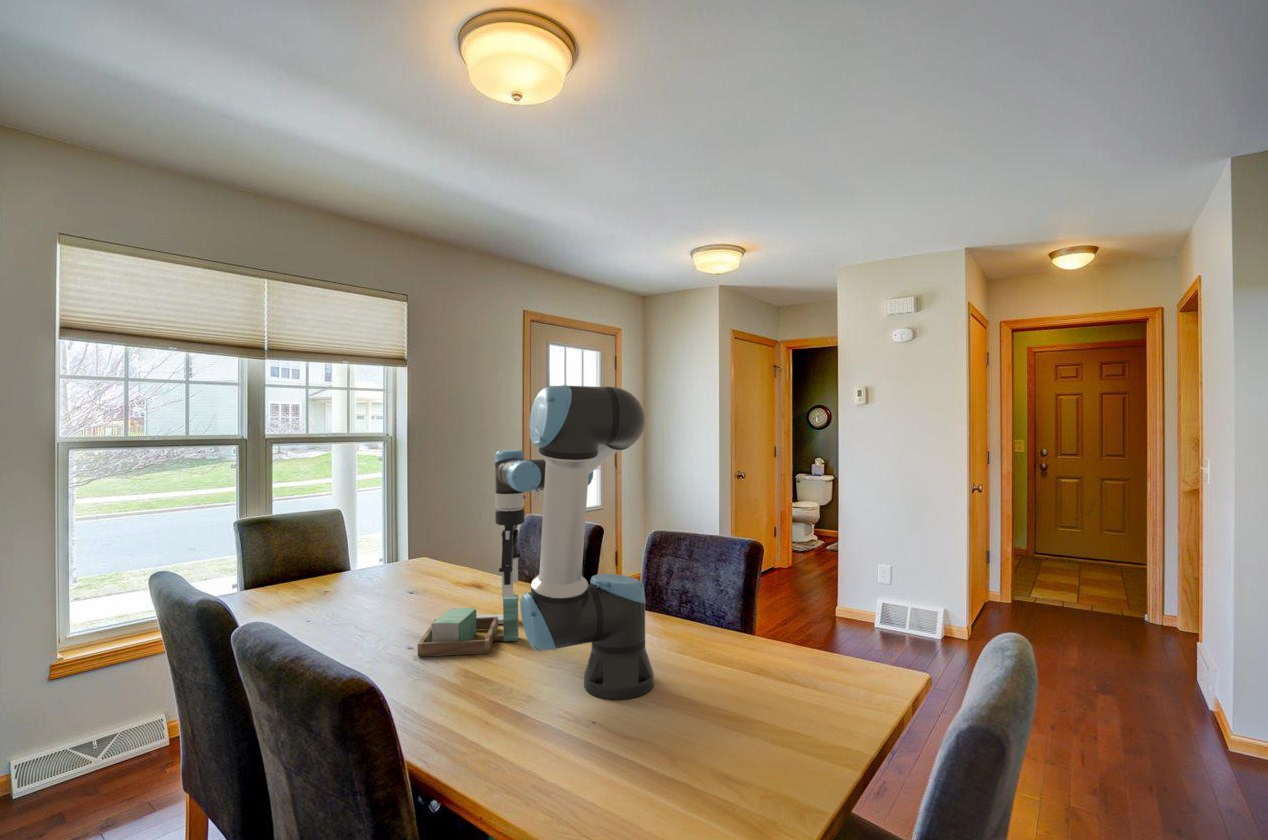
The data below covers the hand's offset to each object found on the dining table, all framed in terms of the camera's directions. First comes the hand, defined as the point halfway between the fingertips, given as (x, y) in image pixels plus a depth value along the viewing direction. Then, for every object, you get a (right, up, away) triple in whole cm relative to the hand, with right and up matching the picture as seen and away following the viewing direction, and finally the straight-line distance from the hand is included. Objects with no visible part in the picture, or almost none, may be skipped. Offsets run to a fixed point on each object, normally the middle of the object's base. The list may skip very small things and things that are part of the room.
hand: (510, 589), depth 160 cm
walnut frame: (-10, -13, -1) cm, 16 cm away
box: (-14, -14, -2) cm, 20 cm away
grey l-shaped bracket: (-12, -13, +13) cm, 22 cm away
